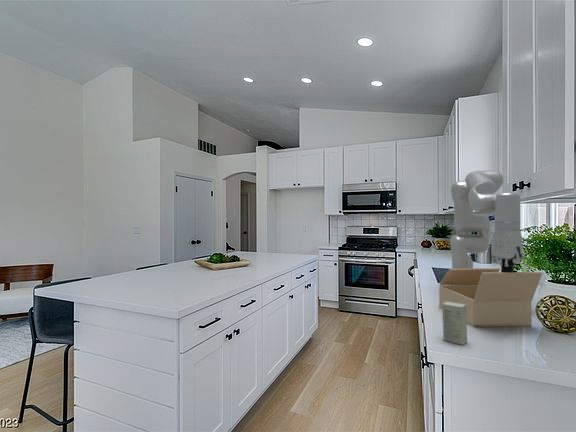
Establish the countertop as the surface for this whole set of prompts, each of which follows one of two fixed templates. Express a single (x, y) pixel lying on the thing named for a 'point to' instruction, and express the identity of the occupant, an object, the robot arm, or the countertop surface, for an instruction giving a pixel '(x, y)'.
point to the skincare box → (454, 322)
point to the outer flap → (507, 286)
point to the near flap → (465, 276)
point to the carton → (487, 308)
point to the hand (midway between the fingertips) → (507, 277)
